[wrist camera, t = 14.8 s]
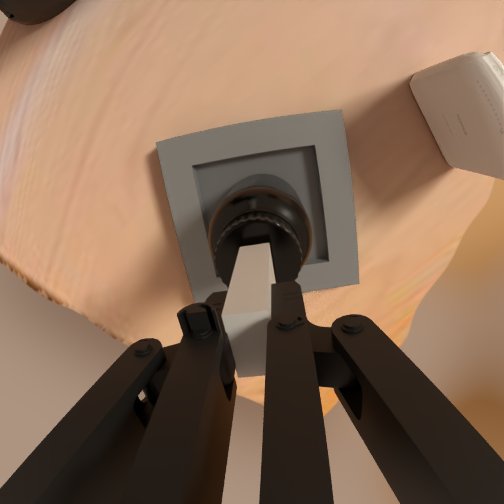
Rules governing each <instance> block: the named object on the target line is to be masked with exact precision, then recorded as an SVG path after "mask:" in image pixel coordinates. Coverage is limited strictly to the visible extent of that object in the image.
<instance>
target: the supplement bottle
mask: <svg viewBox="0 0 504 504" xmlns="http://www.w3.org/2000/svg"><path fill="white" fill-rule="evenodd" d="M208 242H209V248H210V252H211V254H212V257H213V259H214V261H215V263H216V267H215V268H216V270H217V271H218V276H219V277H220V278H221V279H222V283H224V284H225V285H226V286H227V288H228V289H229V285H230V282H231V278H232V274H233V270H234V267H235V263H236V259H237V256H238V252H239V248H240V247H243V246H250V245H257V244H263V243H269V245H270V251H271V257H272V263H273V269H274V275H275V281H276V283H281V282H288V281H295V280H296V279H297V278H298V273H299V272H300V271H301V269H302V267H303V266H304V265H305V263H306V261H307V259H308V257H309V255H310V252H311V248H312V242H313V234H312V227H311V223H310V220H309V217H308V215H307V213H306V211H305V209H304V206H303V204H302V202H301V200H300V198H299V196H298V194H297V193H296V191H295V190H294V188H293V187H292V186H291V185H290V184H289V183H288V182H286V181H285V180H283V179H282V178H280V177H277V176H275V175H271V174H255V175H251V176H248V177H246V178H244V179H242V180H241V181H239V182H238V183H237V184H236V185H235V186H234V187H233V188H232V189H231V190H230V192H229V193H228V194H227V196H226V197H225V198H224V200H223V201H222V202H221V204H220V205H219V206H218V208H217V209H216V211H215V213H214V215H213V217H212V219H211V222H210V226H209V232H208Z"/></svg>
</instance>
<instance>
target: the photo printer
mask: <svg viewBox="0 0 504 504" xmlns="http://www.w3.org/2000/svg"><path fill="white" fill-rule="evenodd" d="M409 85H410V88H411V90H412V93H413V95H414V97H415V99H416V101H417V103H418V105H419V107H420V109H421V111H422V113H423V115H424V117H425V119H426V121H427V123H428V125H429V127H430V129H431V132H432V134H433V136H434V138H435V140H436V142H437V144H438V146H439V148H440V150H441V152H442V154H443V156H444V158H445V160H446V161H447V163H448V164H449V165H450V166H451V167H455V168H459V169H463V170H467V171H472V172H475V173H480V174H484V175H487V176H491V177H495V178H499V179H503V180H504V66H503V64H502V63H501V62H500V61H499V59H498V58H497V57H496V56H495V55H494V54H493V53H492V52H487V53H481V52H471V53H466V54H463V55H460V56H458V57H455V58H452V59H449V60H447V61H444V62H442V63H439V64H436V65H434V66H431V67H429V68H426V69H424V70H421V71H419V72H417V73H416V74H414V76H413V77H412V79H411V81H410V82H409Z"/></svg>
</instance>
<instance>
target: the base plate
mask: <svg viewBox="0 0 504 504" xmlns="http://www.w3.org/2000/svg"><path fill="white" fill-rule="evenodd" d="M156 146H157V151H158V156H159V160H160V165H161V170H162V174H163V179H164V184H165V188H166V192H167V197H168V201H169V205H170V210H171V214H172V218H173V222H174V226H175V230H176V234H177V238H178V242H179V246H180V250H181V254H182V258H183V261H184V265H185V269H186V272H187V276H188V280H189V283H190V287H191V290H192V294H193V298H194V301H195V303H199V302H205V301H206V299H207V298H208V297H209V296H210V295H211V294H212V293H213V292H220V291H228V288H227V286H226V285H225V284H224V283H222V279H221V278H220V277H219V276H218V271H217V270H216V268H215V267H216V263H215V261H214V259H213V257H212V254H211V252H210V248H209V242H208V232H209V226H210V222H211V219H212V217H213V215H214V213H215V211H216V209H217V208H218V206H219V205H220V204H221V202H222V201H223V200H224V198H225V197H226V196H227V194H228V193H229V192H230V190H231V189H232V188H233V187H234V186H235V185H236V184H237V183H238V182H239V181H241V180H242V179H244V178H246V177H248V176H251V175H255V174H271V175H275V176H277V177H280V178H282V179H283V180H285V181H286V182H288V183H289V184H290V185H291V186H292V187H293V188H294V190H295V191H296V193H297V194H298V196H299V198H300V200H301V202H302V204H303V206H304V209H305V211H306V213H307V215H308V217H309V220H310V223H311V227H312V234H313V242H312V248H311V252H310V255H309V257H308V259H307V261H306V263H305V265H304V266H303V267H302V269H301V271H300V272H299V273H298V278H297V279H296V280H295V281H296V282H297V283H298V284H300V285H301V291H302V293H303V292H310V291H317V290H323V289H330V288H336V287H342V286H349V285H355V284H359V265H358V246H357V231H356V219H355V207H354V197H353V187H352V178H351V170H350V162H349V154H348V147H347V140H346V133H345V127H344V120H343V114H342V110H332V111H322V112H313V113H304V114H296V115H289V116H282V117H275V118H268V119H262V120H256V121H250V122H245V123H239V124H234V125H229V126H224V127H219V128H214V129H209V130H205V131H200V132H196V133H191V134H187V135H183V136H179V137H175V138H171V139H167V140H163V141H159V142H156Z"/></svg>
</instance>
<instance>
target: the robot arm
mask: <svg viewBox="0 0 504 504" xmlns="http://www.w3.org/2000/svg"><path fill="white" fill-rule="evenodd" d="M74 1H75V0H0V10H1V11H2V12H3V13H4V14H5V15H6V16H7V17H8V18H9V19H11V20H12V21H15V22H18V23H22V24H25V25H33V24H38V23H41V22H44V21H46V20H48V19H50V18H52V17H54V16H55V15H57V14H58V13H60V12H61V11H63V10H64V9H65V8H67V7H68V6H69V5H70V4H71V3H72V2H74ZM177 317H178V320H179V323H180V326H181V329H182V332H183V337H182V340H181V342H180V343H178V344H175V345H171V346H167V347H162V344H161V342H160V341H159V340H157V339H154V338H146V339H141V340H139V341H137V342H135V343H133V344H132V345H131V346H130V347H128V348H127V350H126V351H125V352H124V353H123V354H122V355H121V356H120V357H119V358H118V359H117V360H116V361H115V362H114V363H113V364H112V366H111V367H110V368H109V369H108V370H107V371H106V372H105V373H104V374H103V375H102V376H101V377H100V378H99V379H98V381H97V382H96V383H95V384H94V385H93V386H92V387H91V388H90V389H89V390H88V391H87V392H86V393H85V394H84V396H83V397H82V398H81V399H80V400H79V401H78V402H77V403H76V404H75V406H74V407H73V408H72V409H71V410H70V411H69V412H68V413H67V414H66V415H65V417H63V418H62V420H61V421H60V422H59V423H58V424H57V425H56V426H55V427H54V428H53V430H52V431H51V432H50V433H49V434H48V435H47V436H46V438H44V440H43V441H42V442H41V443H40V444H39V445H38V446H37V447H36V449H35V450H34V451H33V452H32V453H31V454H30V455H29V456H28V458H27V459H26V460H25V461H24V462H23V463H22V465H20V467H19V468H18V469H17V470H16V471H15V472H14V473H13V475H12V476H11V477H10V478H9V479H8V481H7V482H6V483H5V484H4V485H3V486H2V487H1V489H0V504H221V503H222V495H223V488H224V480H225V473H226V465H227V457H228V450H229V443H230V436H231V428H232V420H233V413H234V405H235V398H236V390H237V385H236V381H235V377H234V374H235V368H236V371H237V375H238V378H239V377H251V376H262V375H265V397H264V422H263V443H262V465H261V484H260V500H259V504H334V501H333V492H332V483H331V474H330V466H329V458H328V450H327V442H326V434H325V427H324V419H323V412H322V405H321V399H320V392H319V386H320V387H331V388H334V391H335V394H336V395H337V397H338V399H339V400H340V402H341V404H342V405H343V407H344V409H345V410H346V412H347V414H348V416H349V417H350V419H351V421H352V422H353V424H354V426H355V428H356V429H357V431H358V433H359V434H360V436H361V438H362V439H363V441H364V443H365V445H366V446H367V448H368V450H369V451H370V453H371V455H372V456H373V458H374V460H375V462H376V463H377V465H378V466H379V468H380V470H381V472H382V473H383V475H384V477H385V478H386V480H387V482H388V484H389V485H390V487H391V489H392V490H393V492H394V494H395V496H396V497H397V499H398V501H399V502H400V504H504V461H503V460H502V459H501V458H500V457H499V455H498V454H497V453H496V452H495V451H494V449H493V448H492V447H491V446H490V445H489V444H488V443H487V442H486V440H485V439H484V438H483V437H482V436H481V435H480V434H479V433H478V431H477V430H476V429H475V428H474V427H473V426H472V425H471V424H470V423H469V422H468V421H467V419H466V418H465V417H464V416H463V415H462V414H461V413H460V412H459V411H458V410H457V409H456V407H455V406H454V405H453V404H452V403H451V402H450V401H449V400H448V399H447V398H446V397H445V396H444V394H442V392H441V391H440V390H439V389H438V388H437V387H436V386H435V385H434V384H433V383H432V382H431V381H430V380H429V379H428V378H427V376H426V375H424V373H423V372H422V371H421V370H420V369H419V368H418V367H417V366H416V365H415V364H414V363H413V362H412V361H411V360H410V359H409V358H408V357H407V356H406V355H405V354H404V353H403V352H402V351H401V350H400V348H399V347H398V346H397V345H396V344H395V343H394V342H393V341H392V340H391V339H390V338H389V337H388V336H387V335H386V334H385V333H384V332H383V331H382V330H381V329H380V328H379V327H378V326H377V325H376V324H375V323H374V322H373V321H372V320H371V319H369V318H368V317H366V316H362V315H357V314H351V315H346V316H342V317H340V318H338V319H336V320H335V321H334V322H333V323H332V326H331V327H320V326H317V325H314V324H312V323H310V322H309V321H308V320H307V317H306V312H305V307H304V301H303V296H302V291H301V285H300V284H298V283H297V282H296V281H288V282H281V283H276V281H275V275H274V269H273V263H272V257H271V251H270V245H269V243H263V244H257V245H250V246H243V247H240V248H239V252H238V256H237V259H236V263H235V267H234V270H233V274H232V278H231V282H230V285H229V289H228V291H220V292H213V293H212V294H211V295H210V296H209V297H208V298H207V299H206V301H205V302H199V303H195V304H191V305H188V306H186V307H184V308H183V309H181V310H180V311H179V312H178V313H177ZM142 390H143V392H144V394H145V396H146V397H145V398H144V399H143V400H142V401H141V400H140V399H139V397H138V395H139V394H140V392H141V391H142Z"/></svg>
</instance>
